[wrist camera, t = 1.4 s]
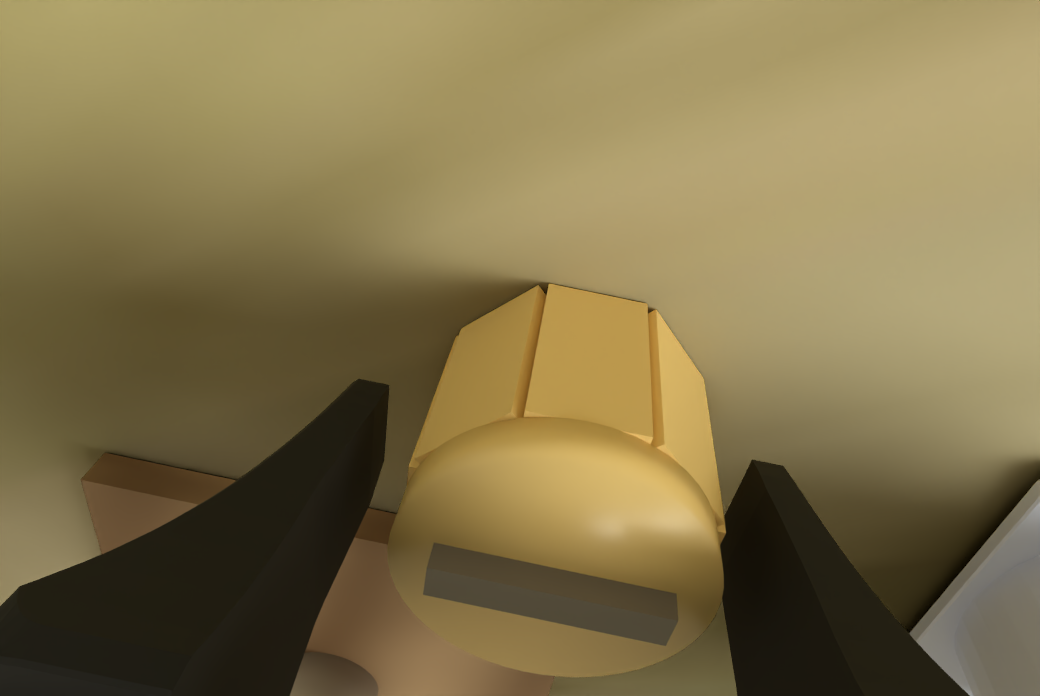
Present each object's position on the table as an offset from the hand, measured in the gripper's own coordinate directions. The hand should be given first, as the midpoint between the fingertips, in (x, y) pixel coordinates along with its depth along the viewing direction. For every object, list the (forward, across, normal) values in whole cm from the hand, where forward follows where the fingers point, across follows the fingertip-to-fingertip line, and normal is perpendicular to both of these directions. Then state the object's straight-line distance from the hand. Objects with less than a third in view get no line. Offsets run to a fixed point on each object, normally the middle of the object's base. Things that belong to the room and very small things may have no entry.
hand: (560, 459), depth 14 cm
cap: (+2, 0, 0) cm, 2 cm away
